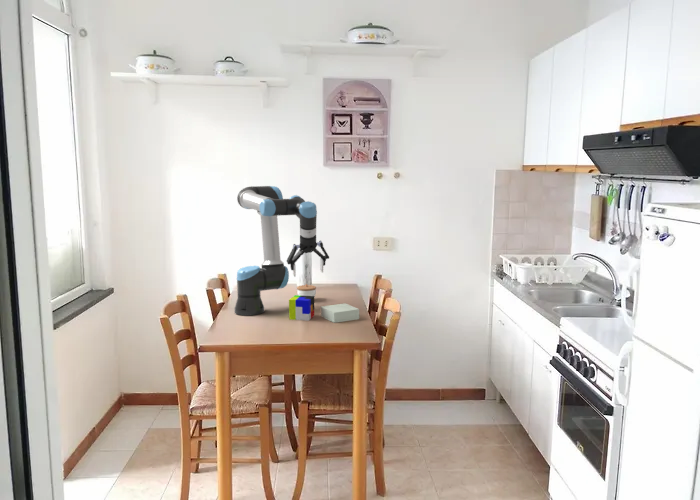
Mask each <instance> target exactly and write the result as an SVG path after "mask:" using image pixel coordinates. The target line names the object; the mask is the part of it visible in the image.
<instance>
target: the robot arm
mask: <svg viewBox="0 0 700 500" xmlns="http://www.w3.org/2000/svg"><path fill="white" fill-rule="evenodd" d="M236 201H237V204H238V206H240V207H241V208H243V209H246V210H255V211H257V214H258V215H259V216H260V224H261V238H262V251H263V262H262V263H261V267H260V266H259V265H248V266H244V267H242V268H240V269H238V270H237V272H236V289H237V299H236V302H235V306H234V314H235V313H236V314H235V315H237V314H238V316H256V315H261V314H264V312H265V305H264V303H263V301H262V297H261V292H263V291H270V290H271V291H273V290H280V289H285V287H286V286H287V285H288V283H289V278H290V273H289V268H288V267H287V266H285V263H284V262H283V261H282V260H281V248H280V247H281V246H280V236H279V224H278V216H296V217H297V218H298V219H299V244H296V243H293V244H292V248H291V251H290V253H289V255H288V257H287V259H286V264H288V265H290V270H291V271H292V276H293V277H294V278H296V275H297V274H296V271H297V270H296V266H297V265H296V262H297V261H298V260H299V259H300V258H301V257H302V256H303V255H304V254H308V253H315V254H316V255H317V256H318V257H320V260H319V266H320V267H319V268H320V269H319V270H320V272H321V273H324V266H326V261H327V260H328V259H330V256H329V254H328V253H327V250H326V249H325V247H324V243H323V241H322V240H319V241H317V214H318V212H317V205H316V203H315V202H312V201H309V200H308V201H306V200H305V199H304V198H302V197H301V196H300V195H297V194H295V195H292V196H290V197H289V198H284V196H283V194H282V191H281V189H280V188H279V187H277V186H273V185H261V186H257V185H256V186H252V185H251V186H247V187H244V188H242V189H241V190H240V191H239V192H238V194H237V199H236ZM317 246H318V247H319V248H320V249H321V250H322V253H323V254H324V255H323V254H322V253H321V252H320V251H319V250H318V249H317Z"/></svg>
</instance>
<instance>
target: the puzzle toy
mask: <svg viewBox="0 0 700 500" xmlns="http://www.w3.org/2000/svg"><path fill="white" fill-rule="evenodd" d="M288 315H289V316H288V317H289V319H288V320H289V321H290V320H292V321H310V320H311V319H313V317H314V316H315V297H314V296H300V295H298V294H297V295H295V294H294V295H293V296H292V297H290V298H289V299H288Z"/></svg>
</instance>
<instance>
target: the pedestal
mask: <svg viewBox="0 0 700 500" xmlns="http://www.w3.org/2000/svg"><path fill="white" fill-rule="evenodd" d="M320 317H321V318H323V319H326V320H327V321H329V322H332V323H334V324H335V323H336V324H337V323H342V322H348V321H354V320H360V308H357V307H355V306H352V305H350V304H348V303H339V304H338V303H337V304H332V305H324V306H322V305H321V306H320Z"/></svg>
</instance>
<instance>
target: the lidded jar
mask: <svg viewBox="0 0 700 500" xmlns="http://www.w3.org/2000/svg"><path fill="white" fill-rule="evenodd" d="M296 292H297V295H300V296H314V298H315V297H316V293H317V286H315V285H313V284H307V283H305V284H304V285H298V286H297V287H296Z"/></svg>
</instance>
